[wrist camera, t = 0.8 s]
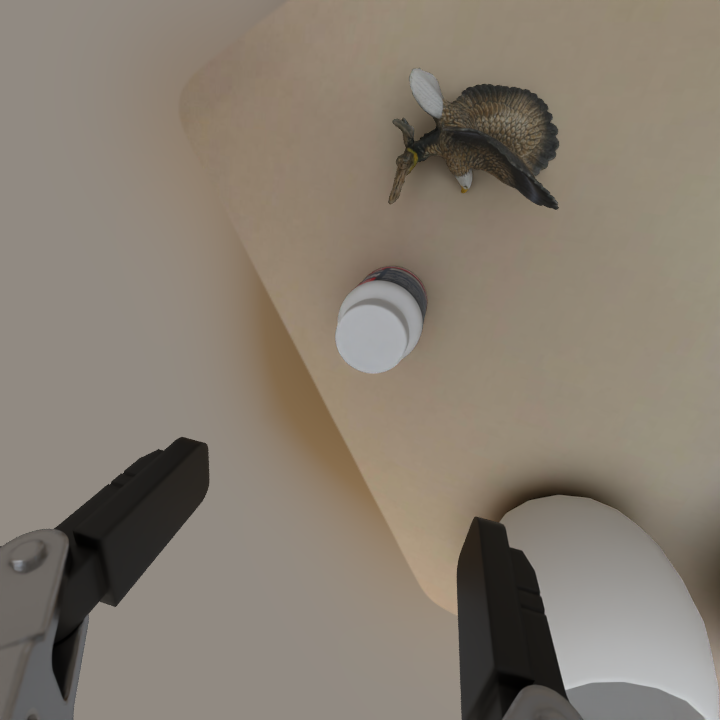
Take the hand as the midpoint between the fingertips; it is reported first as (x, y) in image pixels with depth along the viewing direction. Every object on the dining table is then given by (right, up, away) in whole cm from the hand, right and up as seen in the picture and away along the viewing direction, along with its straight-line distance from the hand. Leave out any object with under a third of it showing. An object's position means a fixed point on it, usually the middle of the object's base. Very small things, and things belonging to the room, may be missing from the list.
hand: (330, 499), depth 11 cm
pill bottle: (+3, +9, +17) cm, 19 cm away
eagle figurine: (+8, +17, +12) cm, 23 cm away
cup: (+19, -11, +22) cm, 31 cm away
